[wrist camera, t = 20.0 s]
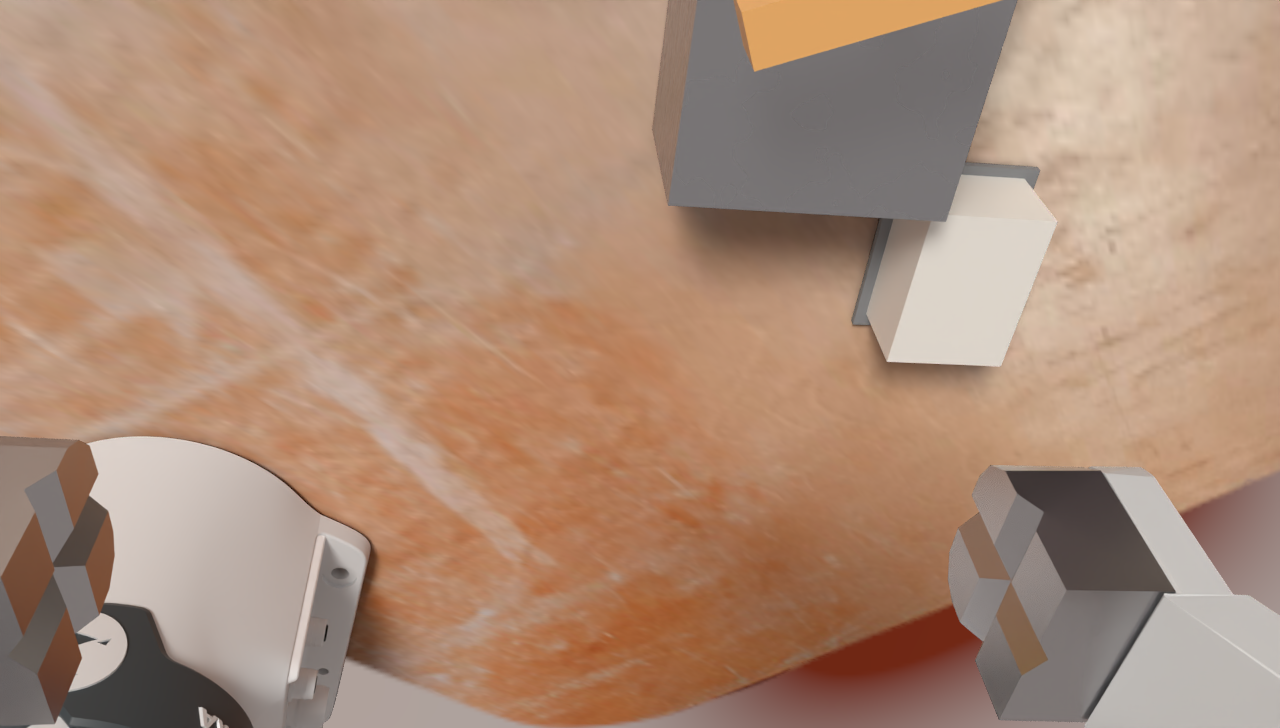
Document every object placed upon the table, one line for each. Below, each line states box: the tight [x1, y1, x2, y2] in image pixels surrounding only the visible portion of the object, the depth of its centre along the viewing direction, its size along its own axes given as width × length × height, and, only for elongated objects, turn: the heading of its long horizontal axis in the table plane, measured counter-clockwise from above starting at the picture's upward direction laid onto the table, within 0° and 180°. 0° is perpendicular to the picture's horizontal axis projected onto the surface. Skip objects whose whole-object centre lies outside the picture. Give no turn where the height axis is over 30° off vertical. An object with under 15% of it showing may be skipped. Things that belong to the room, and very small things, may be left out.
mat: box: [851, 162, 1040, 325], centre depth 46 cm, size 8×6×1 cm
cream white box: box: [866, 175, 1058, 366], centre depth 44 cm, size 7×5×4 cm
